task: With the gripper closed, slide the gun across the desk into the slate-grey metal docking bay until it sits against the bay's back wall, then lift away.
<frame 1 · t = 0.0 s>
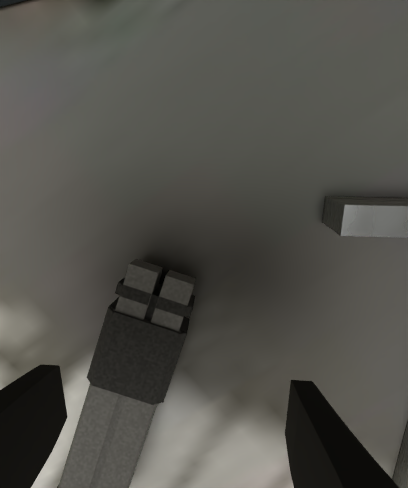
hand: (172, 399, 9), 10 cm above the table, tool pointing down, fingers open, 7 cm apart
slate bay: (359, 400, 21), on the table
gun: (134, 380, 22), on the table
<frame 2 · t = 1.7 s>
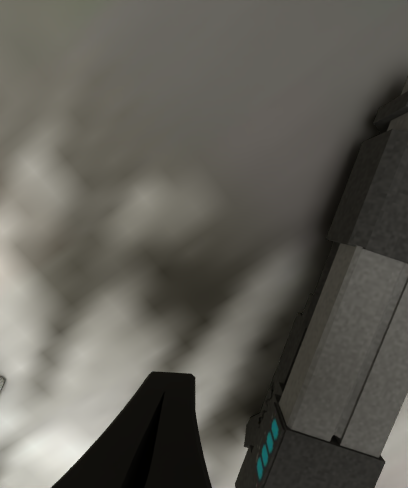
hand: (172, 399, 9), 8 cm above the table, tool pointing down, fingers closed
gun: (325, 292, 17), on the table
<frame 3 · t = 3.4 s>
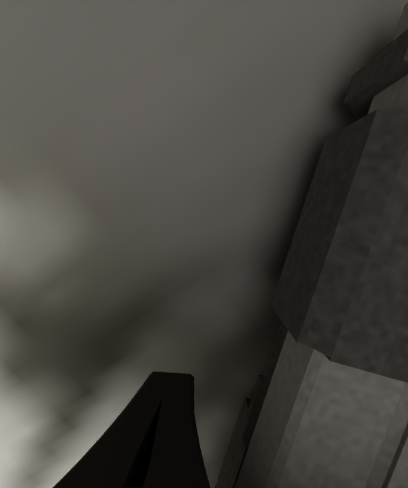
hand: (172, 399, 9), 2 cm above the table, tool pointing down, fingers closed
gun: (285, 362, 11), on the table
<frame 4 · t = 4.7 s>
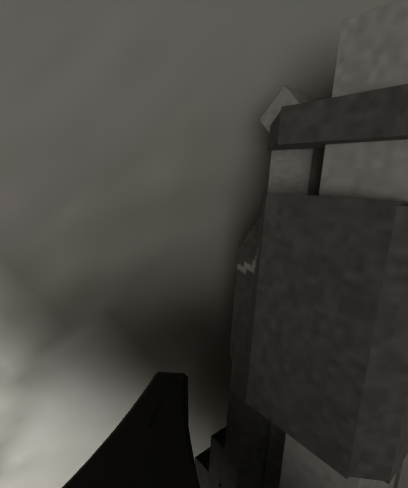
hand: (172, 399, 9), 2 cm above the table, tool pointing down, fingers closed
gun: (214, 391, 11), point 1 cm above the table, touching gripper
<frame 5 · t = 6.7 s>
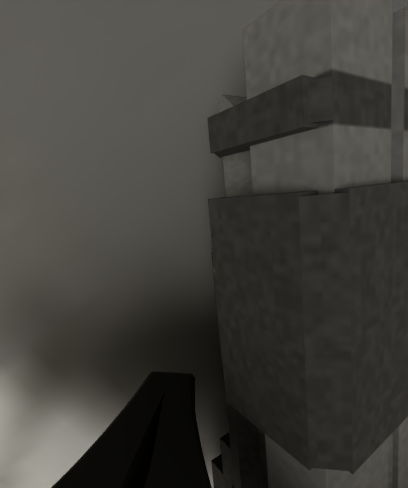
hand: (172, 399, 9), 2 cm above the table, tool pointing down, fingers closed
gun: (226, 395, 11), point 1 cm above the table, touching gripper
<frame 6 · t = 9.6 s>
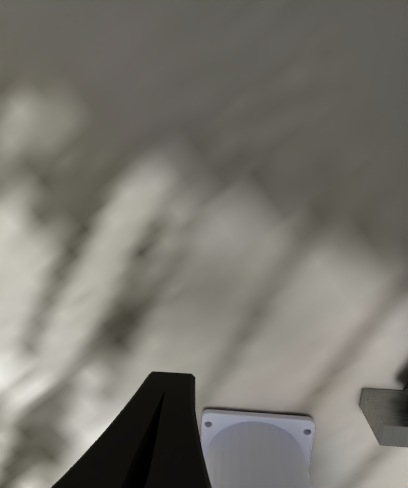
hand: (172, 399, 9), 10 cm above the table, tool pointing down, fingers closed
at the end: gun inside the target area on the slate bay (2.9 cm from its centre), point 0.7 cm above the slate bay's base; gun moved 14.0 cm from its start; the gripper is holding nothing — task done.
